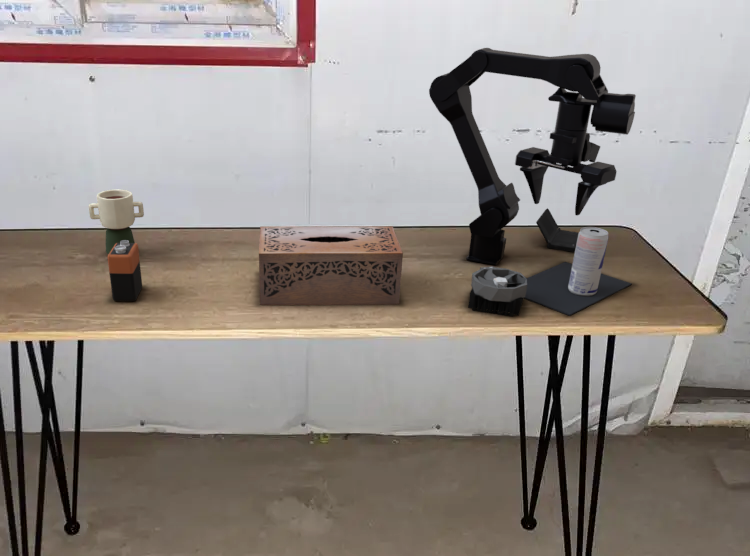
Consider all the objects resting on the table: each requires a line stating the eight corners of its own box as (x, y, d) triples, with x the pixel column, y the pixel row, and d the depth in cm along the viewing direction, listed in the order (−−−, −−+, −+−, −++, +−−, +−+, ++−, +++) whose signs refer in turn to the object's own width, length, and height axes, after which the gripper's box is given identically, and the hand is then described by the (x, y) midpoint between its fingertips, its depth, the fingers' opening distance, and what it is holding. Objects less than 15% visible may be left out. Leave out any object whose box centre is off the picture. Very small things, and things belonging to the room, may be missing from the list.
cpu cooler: (525, 291, 136) (467, 283, 138) (520, 320, 138) (463, 311, 141) (531, 270, 144) (476, 262, 147) (526, 298, 147) (473, 290, 150)
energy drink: (598, 288, 150) (610, 229, 144) (594, 298, 146) (607, 238, 140) (569, 283, 152) (581, 224, 146) (565, 293, 148) (577, 233, 142)
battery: (112, 302, 143) (105, 250, 138) (120, 287, 149) (114, 237, 144) (135, 302, 143) (130, 251, 138) (143, 287, 149) (137, 237, 144)
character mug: (147, 247, 167) (142, 188, 161) (147, 259, 161) (141, 198, 155) (96, 249, 166) (88, 190, 159) (93, 262, 160) (85, 200, 153)
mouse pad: (501, 290, 150) (501, 288, 149) (565, 263, 162) (565, 261, 162) (569, 315, 140) (569, 314, 140) (631, 284, 153) (631, 283, 152)
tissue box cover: (389, 274, 156) (392, 226, 151) (399, 304, 143) (402, 253, 138) (261, 274, 155) (260, 226, 150) (259, 304, 142) (258, 253, 137)
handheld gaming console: (586, 245, 166) (563, 205, 165) (555, 262, 169) (532, 223, 168) (585, 236, 176) (563, 198, 175) (556, 252, 180) (534, 215, 178)
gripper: (639, 130, 143) (621, 212, 150) (552, 114, 155) (539, 190, 162) (608, 139, 136) (590, 224, 144) (519, 121, 148) (507, 201, 156)
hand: (556, 209), depth 152 cm, fingers open, 9 cm apart
